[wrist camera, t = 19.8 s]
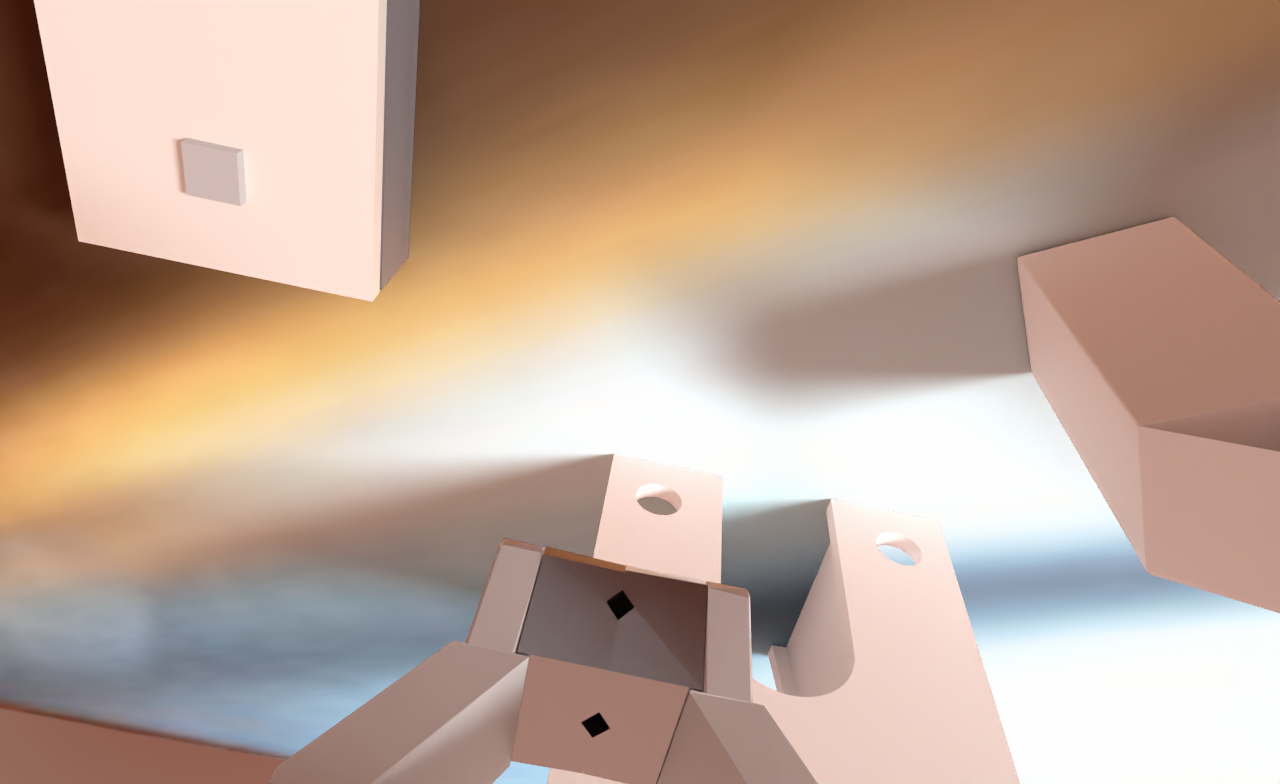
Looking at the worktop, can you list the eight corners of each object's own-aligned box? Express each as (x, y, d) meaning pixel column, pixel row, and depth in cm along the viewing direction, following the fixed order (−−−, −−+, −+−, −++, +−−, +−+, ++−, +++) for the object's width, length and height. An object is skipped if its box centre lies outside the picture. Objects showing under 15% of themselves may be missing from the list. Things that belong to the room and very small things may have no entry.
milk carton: (1030, 373, 45) (1194, 656, 29) (1015, 254, 42) (1190, 501, 26) (1177, 340, 43) (1438, 623, 27) (1173, 213, 40) (1468, 450, 24)
